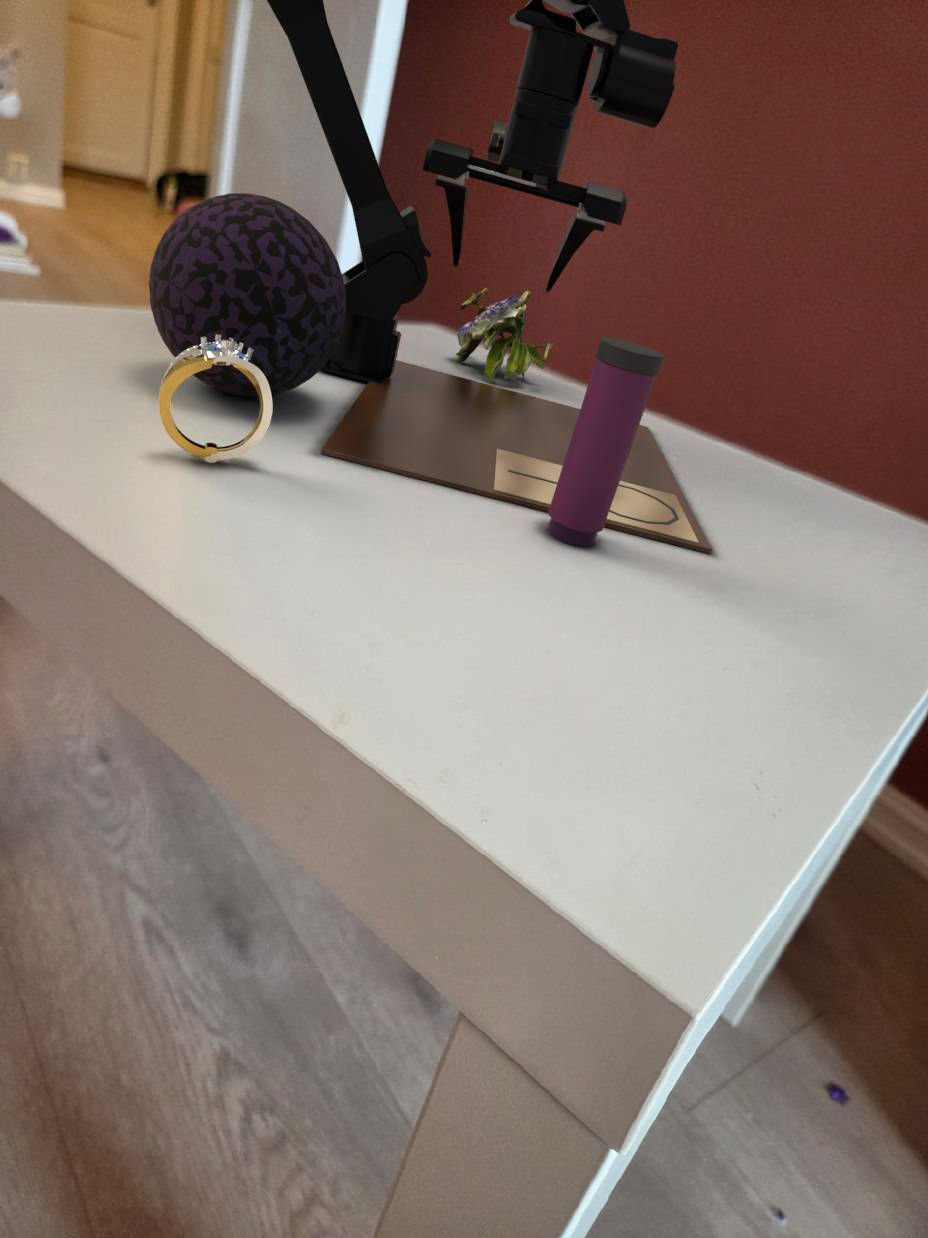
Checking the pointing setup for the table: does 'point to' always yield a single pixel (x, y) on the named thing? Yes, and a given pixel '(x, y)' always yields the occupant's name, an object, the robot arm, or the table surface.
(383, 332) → the robot arm
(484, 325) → the passion flower
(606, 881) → the table surface
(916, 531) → the table surface
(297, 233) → the toy ball
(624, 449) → the dauber
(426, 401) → the board
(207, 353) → the ring
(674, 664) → the table surface
